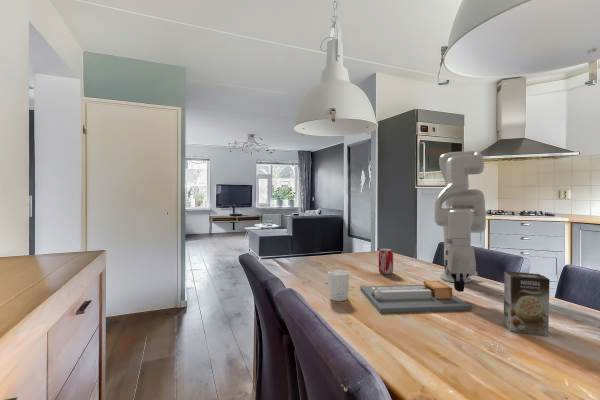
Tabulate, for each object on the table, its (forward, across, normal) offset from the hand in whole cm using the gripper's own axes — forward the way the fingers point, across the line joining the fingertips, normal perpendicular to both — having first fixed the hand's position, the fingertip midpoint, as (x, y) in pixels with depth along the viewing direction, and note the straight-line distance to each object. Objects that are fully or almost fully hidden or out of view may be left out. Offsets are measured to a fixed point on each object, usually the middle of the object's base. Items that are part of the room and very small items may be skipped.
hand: (459, 290), depth 110 cm
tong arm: (+1, -23, +2) cm, 23 cm away
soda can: (+3, -14, +38) cm, 41 cm away
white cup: (+4, -45, +4) cm, 46 cm away
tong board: (+3, -18, +1) cm, 19 cm away
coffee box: (+4, +4, -26) cm, 26 cm away
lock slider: (+1, -8, 0) cm, 8 cm away
